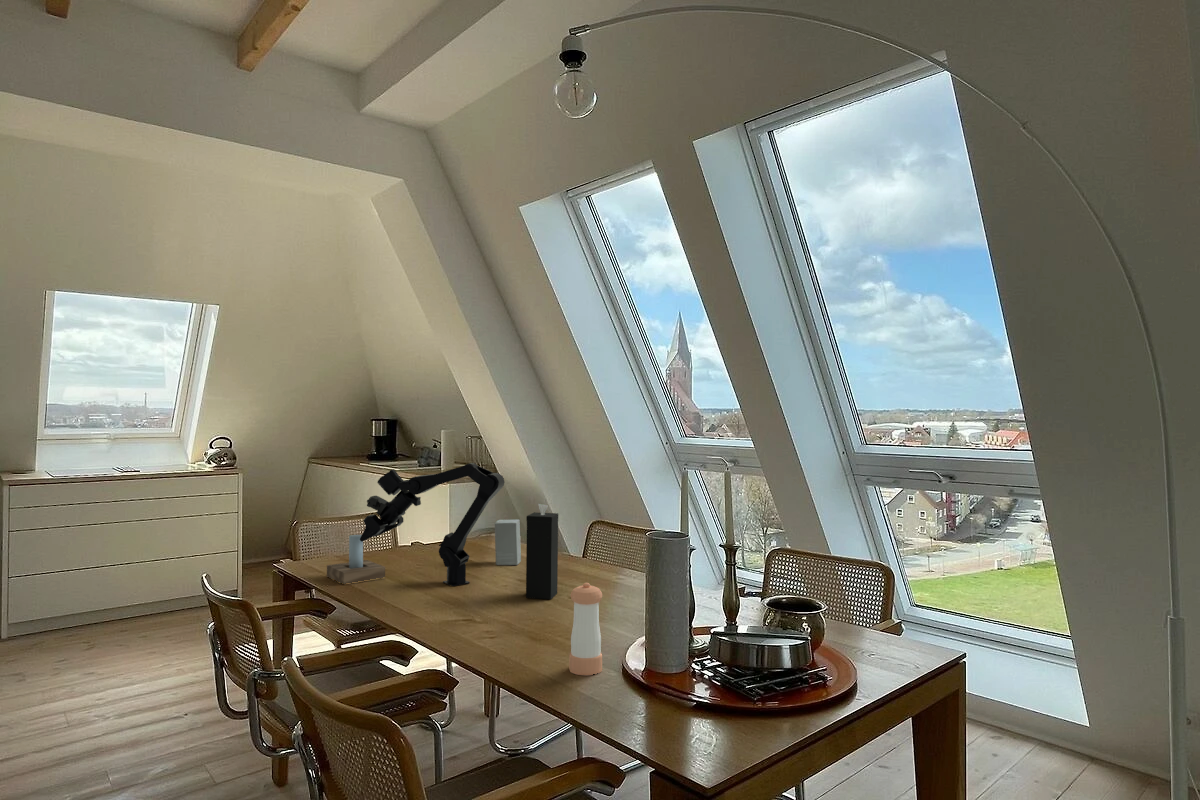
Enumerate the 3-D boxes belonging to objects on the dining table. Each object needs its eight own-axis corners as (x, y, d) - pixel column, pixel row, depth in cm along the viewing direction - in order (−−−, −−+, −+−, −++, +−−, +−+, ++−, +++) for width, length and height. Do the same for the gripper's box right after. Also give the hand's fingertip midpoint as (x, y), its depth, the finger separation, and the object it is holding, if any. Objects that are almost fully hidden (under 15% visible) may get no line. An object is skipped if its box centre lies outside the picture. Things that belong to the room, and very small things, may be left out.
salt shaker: (562, 671, 170) (563, 583, 170) (581, 662, 176) (582, 577, 176) (589, 678, 166) (590, 588, 166) (608, 668, 172) (609, 582, 172)
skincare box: (521, 562, 284) (521, 519, 284) (517, 566, 277) (517, 522, 277) (498, 561, 285) (498, 518, 285) (493, 565, 278) (494, 521, 278)
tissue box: (550, 600, 231) (551, 506, 231) (525, 598, 232) (526, 505, 232) (557, 593, 239) (558, 502, 239) (532, 592, 240) (533, 501, 240)
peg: (365, 577, 258) (365, 535, 258) (357, 580, 254) (358, 537, 254) (354, 576, 259) (354, 534, 259) (346, 579, 255) (346, 536, 255)
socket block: (385, 578, 256) (385, 566, 256) (343, 585, 246) (343, 572, 246) (366, 571, 266) (367, 559, 266) (326, 577, 257) (326, 565, 257)
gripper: (394, 484, 264) (364, 516, 266) (369, 490, 246) (337, 524, 248) (416, 508, 263) (386, 540, 264) (392, 516, 244) (360, 550, 246)
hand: (367, 538), depth 256 cm, fingers open, 9 cm apart
